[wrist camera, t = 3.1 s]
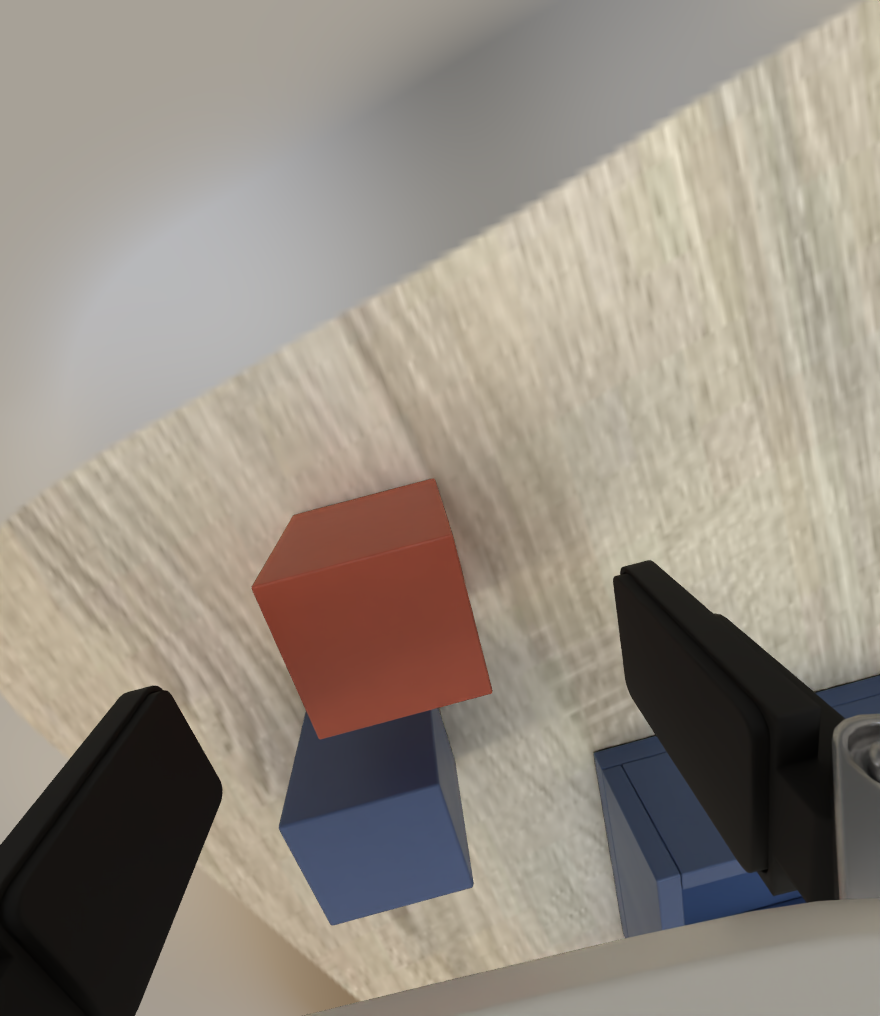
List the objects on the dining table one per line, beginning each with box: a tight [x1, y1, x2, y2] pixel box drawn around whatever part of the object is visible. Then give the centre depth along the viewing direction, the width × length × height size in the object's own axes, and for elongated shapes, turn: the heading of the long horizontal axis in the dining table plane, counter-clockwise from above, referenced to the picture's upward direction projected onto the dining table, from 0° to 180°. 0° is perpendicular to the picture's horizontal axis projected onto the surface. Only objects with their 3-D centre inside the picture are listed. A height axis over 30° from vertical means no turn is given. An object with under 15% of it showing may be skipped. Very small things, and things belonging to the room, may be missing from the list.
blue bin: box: [594, 675, 880, 938], centre depth 19 cm, size 13×13×5 cm
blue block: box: [279, 708, 474, 925], centre depth 15 cm, size 4×4×4 cm
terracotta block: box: [252, 478, 492, 739], centre depth 13 cm, size 4×4×4 cm
